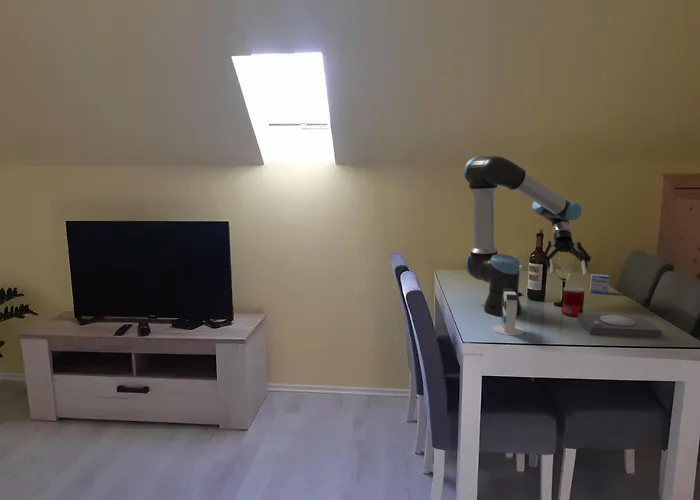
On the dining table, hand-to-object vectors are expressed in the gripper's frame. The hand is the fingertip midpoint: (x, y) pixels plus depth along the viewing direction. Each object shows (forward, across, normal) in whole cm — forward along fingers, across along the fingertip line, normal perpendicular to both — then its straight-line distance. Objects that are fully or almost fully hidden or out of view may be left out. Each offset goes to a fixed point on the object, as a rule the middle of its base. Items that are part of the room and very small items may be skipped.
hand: (568, 273), depth 226 cm
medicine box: (-10, -22, -31) cm, 39 cm away
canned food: (+18, 0, -3) cm, 19 cm away
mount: (+30, -12, +9) cm, 34 cm away
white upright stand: (+36, +29, +15) cm, 49 cm away
